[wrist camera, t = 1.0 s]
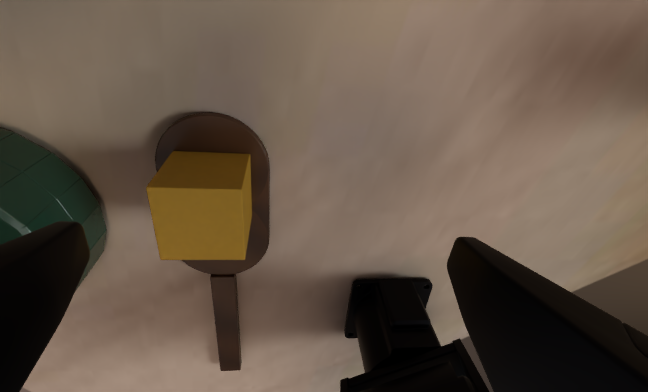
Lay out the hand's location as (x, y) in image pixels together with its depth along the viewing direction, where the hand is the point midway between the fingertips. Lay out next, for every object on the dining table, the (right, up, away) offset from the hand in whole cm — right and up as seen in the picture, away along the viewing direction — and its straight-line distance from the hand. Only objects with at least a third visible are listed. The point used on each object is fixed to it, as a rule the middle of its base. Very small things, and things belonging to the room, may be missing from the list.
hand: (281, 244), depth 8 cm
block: (-6, +2, +13) cm, 14 cm away
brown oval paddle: (-6, -4, +17) cm, 18 cm away
